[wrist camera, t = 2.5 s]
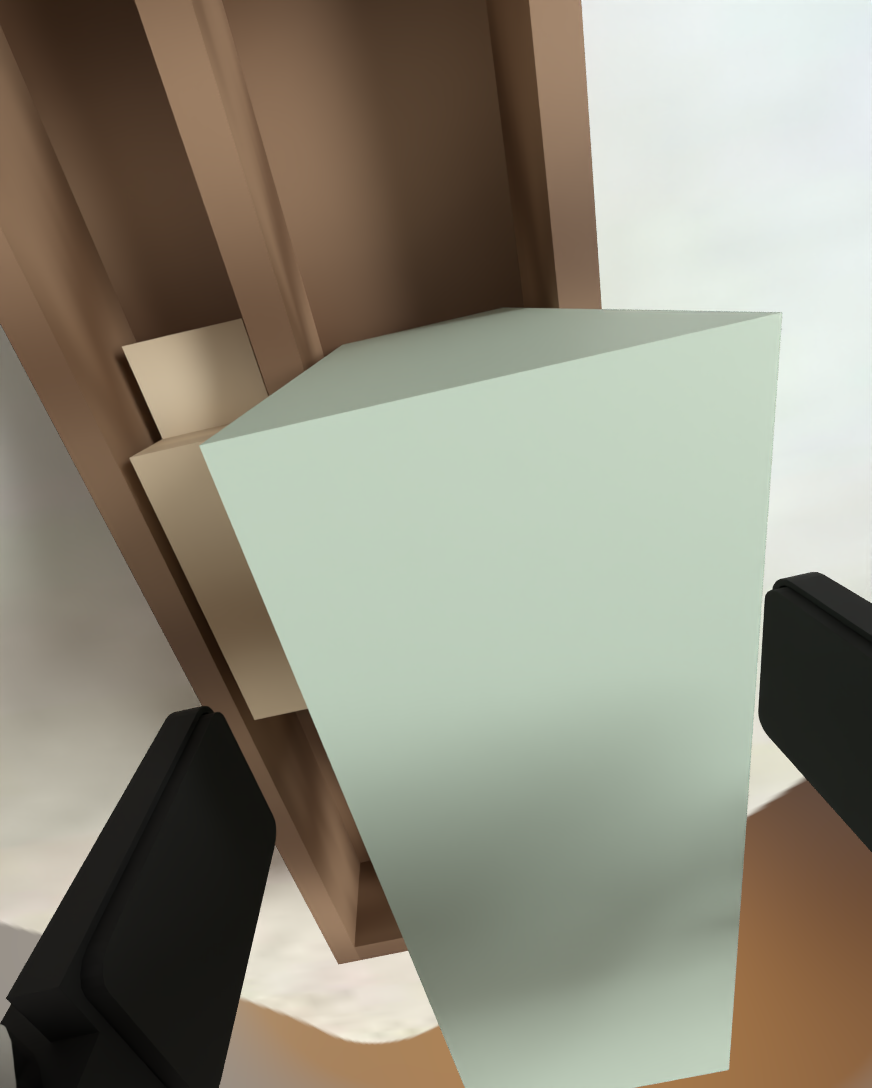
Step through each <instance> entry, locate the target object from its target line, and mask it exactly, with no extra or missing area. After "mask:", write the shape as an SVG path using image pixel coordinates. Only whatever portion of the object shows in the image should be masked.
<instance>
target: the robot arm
mask: <svg viewBox="0 0 872 1088" xmlns="http://www.w3.org/2000/svg"><path fill="white" fill-rule="evenodd" d="M758 714H759V720H760V723H761V725H762V727H763V729H764V731H765V733H766V734H767V735H768V736H769V738H770V739H771V740H772V741H773V742H774V743H775V744H776V745H777V747H778V748H779V749H780V750H781V751H782V752H783V753H784V754H785V756H786V757H787V758H788V759H789V760H790V761H791V762H792V763H793V764H794V766H795V767H796V768H797V769H798V770H799V771H800V772H801V773H802V775H803V776H804V777H805V778H806V779H807V780H808V781H809V782H810V783H811V785H812V786H813V787H814V788H815V789H816V790H817V791H818V792H819V793H820V795H821V796H822V797H823V798H824V799H825V800H826V801H827V803H829V805H830V806H831V807H832V808H833V809H834V810H835V812H836V813H837V814H838V815H839V816H840V817H841V818H842V819H843V821H844V822H845V823H846V824H847V825H848V826H849V827H850V828H851V829H852V830H853V832H854V833H855V834H856V835H857V836H858V837H859V838H860V840H861V841H862V842H863V843H864V844H865V845H866V846H867V847H868V849H869V850H870V851H871V852H872V603H870V602H869V601H867V600H865V599H864V598H862V597H860V596H859V595H857V594H855V593H853V592H852V591H850V590H848V589H847V588H845V587H843V586H842V585H840V584H838V583H837V582H835V581H833V580H832V579H830V578H828V577H827V576H825V575H823V574H821V573H818V572H810V573H806V574H801V575H797V576H792V577H788V578H783V579H780V580H778V581H776V582H775V584H774V585H773V589H772V590H770V591H768V592H767V594H766V596H765V604H764V622H763V639H762V656H761V674H760V691H759V708H758ZM275 842H276V823H275V819H274V816H273V814H272V812H271V810H270V808H269V806H268V804H267V802H266V800H265V798H264V796H263V794H262V792H261V790H260V788H259V786H258V783H257V781H256V779H255V777H254V775H253V773H252V771H251V769H250V767H249V765H248V763H247V761H246V759H245V757H244V755H243V753H242V751H241V749H240V747H239V745H238V743H237V741H236V739H235V737H234V735H233V733H232V731H231V729H230V727H229V725H228V723H227V721H226V719H225V717H224V715H223V714H222V713H221V712H214V711H213V710H212V709H211V708H210V707H208V706H201V707H196V708H192V709H187V710H183V711H178V712H174V713H172V714H170V715H169V716H168V717H167V719H166V720H165V722H164V723H163V725H162V727H161V729H160V730H159V732H158V734H157V736H156V737H155V739H154V741H153V743H152V744H151V746H150V748H149V750H148V751H147V753H146V755H145V757H144V758H143V760H142V762H141V764H140V765H139V767H138V769H137V771H136V772H135V774H134V776H133V778H132V779H131V781H130V783H129V785H128V786H127V788H126V790H125V792H124V793H123V795H122V797H121V798H120V800H119V802H118V804H117V805H116V807H115V809H114V811H113V812H112V814H111V816H110V818H109V819H108V821H107V823H106V825H105V826H104V828H103V830H102V832H101V833H100V835H99V837H98V839H97V840H96V842H95V844H94V846H93V847H92V849H91V851H90V853H89V854H88V856H87V858H86V860H85V861H84V863H83V865H82V867H81V868H80V870H79V872H78V874H77V875H76V877H75V879H74V880H73V882H72V884H71V886H70V887H69V889H68V891H67V893H66V894H65V896H64V898H63V900H62V901H61V903H60V905H59V907H58V908H57V910H56V912H55V914H54V915H53V917H52V919H51V921H50V922H49V924H48V926H47V928H46V929H45V931H44V933H43V935H42V936H41V938H40V940H39V942H38V943H37V945H36V947H35V949H34V951H33V952H32V954H31V956H30V957H29V959H28V961H27V963H26V964H25V966H24V968H23V969H22V971H21V973H20V975H19V976H18V978H17V980H16V982H15V983H14V985H13V987H12V989H11V990H10V992H9V994H8V996H7V997H6V999H7V1000H8V1001H9V1002H10V1003H11V1005H10V1007H9V1009H8V1011H7V1012H6V1014H5V1016H4V1018H3V1020H2V1021H1V1023H0V1088H219V1085H220V1081H221V1077H222V1073H223V1069H224V1064H225V1060H226V1055H227V1051H228V1047H229V1042H230V1038H231V1034H232V1029H233V1025H234V1021H235V1016H236V1012H237V1008H238V1003H239V999H240V995H241V990H242V986H243V981H244V977H245V973H246V968H247V964H248V960H249V955H250V951H251V947H252V942H253V938H254V934H255V929H256V925H257V920H258V916H259V912H260V907H261V903H262V899H263V894H264V890H265V886H266V881H267V877H268V872H269V868H270V864H271V859H272V855H273V851H274V846H275Z"/></svg>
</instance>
